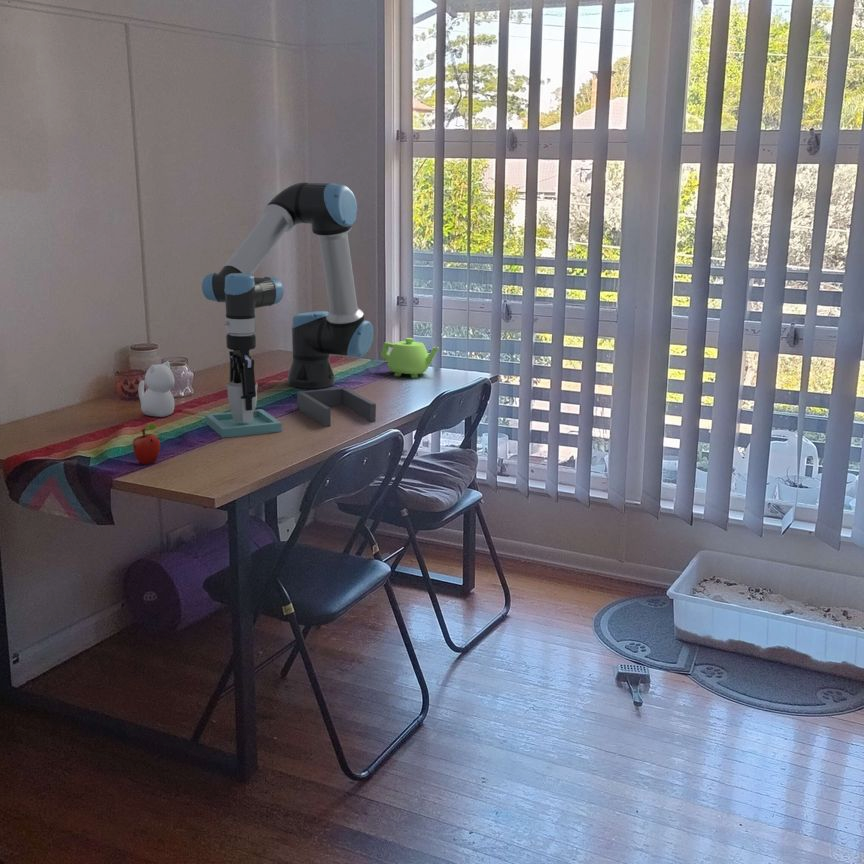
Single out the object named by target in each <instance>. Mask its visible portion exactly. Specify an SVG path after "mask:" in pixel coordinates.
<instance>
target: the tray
mask: <svg viewBox="0 0 864 864" xmlns="http://www.w3.org/2000/svg"><path fill="white" fill-rule="evenodd" d="M204 415H205V416H204V419H205V424H206V425H208V427H210V428H211V429H212V430H213V431H214V432H216V433H217V434H218V435H219V436H220V437H221V438H222V439H223V438H233V437H242V436H243V437H244V436H251V435H259V434H269V433H270V434H271V433H280V432H282V431H283V427H282V425H283V423H282V422H281V421H279V420H278V419H277V418H275V417H274V416H272V415H271V414H270V413H268V412H267V411H266V410H264V409H262V408H261V409H260V408H259V409H256V411H255V414H254V418H253V421H252V422H245V423H240V422H235V421H234V420H233V417H232V414H231V411H229V412H219V413H207V414H204Z"/></svg>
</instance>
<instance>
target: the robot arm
mask: <svg viewBox="0 0 864 864" xmlns="http://www.w3.org/2000/svg"><path fill="white" fill-rule="evenodd" d="M357 213H358V202H357V200H356V196H355V194H354V193H353V191H352V189H350V188H349V187H348V186H347V185H344V184H337V183H334V182H333V183H332V182H330V183H319V182H298V183H297V182H296V183H294V184H291V185H290V186H287V187H285V189H283V190H282V191H280V192H278V193H277V195H275V196H274V197H273V198H272V199H271V200H270V201H269V202H268V203H267V205H266V206H265V207H264V209H263V216H262V217H261V218H260V220H258V222H257V223H256V225H255V226H254V227H253V229H251V231H250V232H249V233H248V235H247V236H246V237H245V239H244V240H243V241H242V243H241V244H240V245H239V246H238V247H237V249H236V250H235V251H234V253H233V254H232V256H231V257H230V258H229V259H228V260H227V262H226V263H225V264H224V266H223V267H222V268H221V269H220V271H219V272H218V273H217V272H213V273H208V274H206V275H205V276H204V277H203V278H202V279H203V280H202V282H201V292H202V294H203V296H204V297H205V298H206V300H209V301H211V302H217V303H224V304H225V321H224V322H223V324H224V325H225V331H226V332H227V334H226V341H225V342H226V348H227V349H228V350H231V351H229V353H228V354H229V382H233V381H234V383H236V384H238V383H241V384H242V391H243V396H241V399H242V418H243V422H252V421H253V397H256V391H255V382H256V379H255V360H254V359H252V357H251V355H250V350H254V349H256V347H257V345H256V343H257V341H256V340H257V338H256V335H255V332H256V309H257V308H258V309H259V308H263V307H271V306H273V305H276V304H279V303H281V301H282V300H283V298H284V294H285V292H284V291H285V289H284V285H283V283H282V282H281V280H279V279H278V278H277V277H274V276H265V277H255V276H254V273H255V272H256V271H257V269H258V268H259V266H260V265H261V264H262V263H263V261H264V260H265V259H266V258H267V256H268V255H269V254H270V252H271V251H272V249H273V248H274V247H275V246H276V244H277V243H278V242H279V241H280V239H281V238H282V236H283V235H284V233H288V232H290V231H291V230H292V229H293V228H294V227H295V226H296V225H298V224H310V225H311V230H312V231H311V232H312V234H313V235H314V236H316V237H317V238H318V241H319V248H320V254H321V255H320V256H321V261H322V262H321V263H322V267H323V274H324V280H325V281H324V282H325V287H326V293H327V300H328V301H327V302H328V307H329V311H326V310H322V311H321V310H319V311H310V312H309V311H308V312H302V313H301V312H300V313H297V314H295V315H293V317H292V324H291V331H292V332H291V334H292V335H291V336H292V338H291V340H292V342H291V343H292V345H291V346H292V361H291V365H290V368H289V371H288V374H287V383H288V384H287V385H288V386H290V387H293V388H297V387H299V388H300V389H325V388H329V387H332V386H334V385H335V383H336V381H335V380H336V379H335V374H334V371H333V367H332V364H331V362H330V355H332V356H333V355H334V356H340V357H345V358H346V357H347V358H362V357H364V356H366V355H367V354H368V352H369V351H370V348H371V346H372V344H373V340H374V326H373V323H371V321H369V320H365V315H364V311H363V310H362V309H360V308H359V307H358V302H357V301H358V300H357V293H356V284H355V278H354V272H353V265H352V257H351V250H350V242H349V237H348V234H349V232H350V231H351V230H352V228H353V227H352V225H353V224H354V223H355V222H356V219H357V217H358V216H357ZM299 388H298V389H299ZM249 392H250V393H249Z"/></svg>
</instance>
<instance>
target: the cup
mask: <svg viewBox="0 0 864 864" xmlns="http://www.w3.org/2000/svg"><path fill="white" fill-rule="evenodd" d="M258 386H259V385H258V382H257V381H255V391H256V397H253V418H254V414H255V411H256V410H257V402H258ZM226 391H227V401H228V405H229V406H228V407H229V412H231V414H232V417H233V420H234V421H235V422H240V423H245V422H243V418H242V399H241V396H243V391H242V384H241V383H238V384H236V383H234V381H233V382H230V381H229V382H227V383H226ZM249 393H250V392H249Z"/></svg>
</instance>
